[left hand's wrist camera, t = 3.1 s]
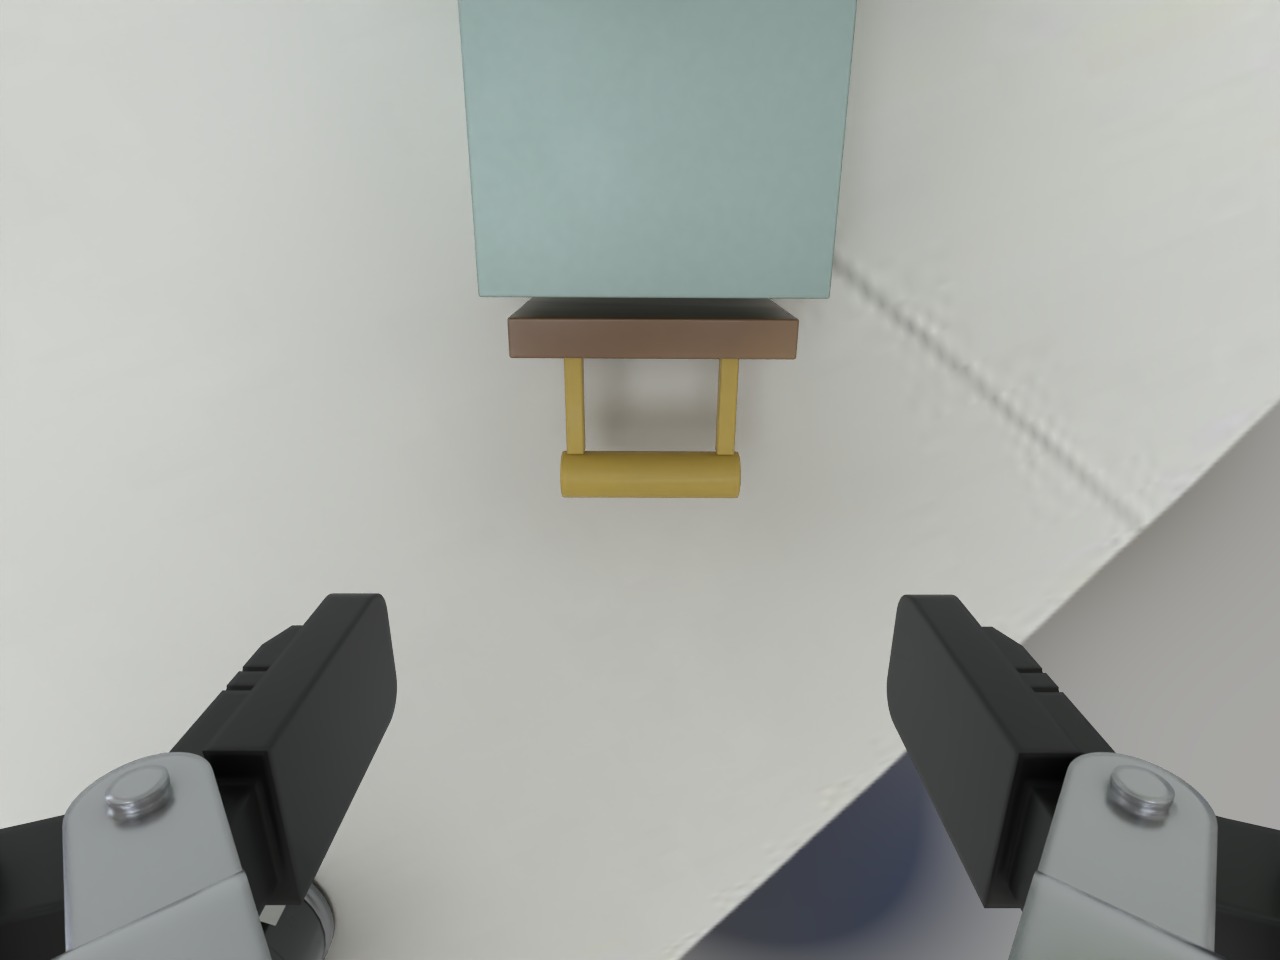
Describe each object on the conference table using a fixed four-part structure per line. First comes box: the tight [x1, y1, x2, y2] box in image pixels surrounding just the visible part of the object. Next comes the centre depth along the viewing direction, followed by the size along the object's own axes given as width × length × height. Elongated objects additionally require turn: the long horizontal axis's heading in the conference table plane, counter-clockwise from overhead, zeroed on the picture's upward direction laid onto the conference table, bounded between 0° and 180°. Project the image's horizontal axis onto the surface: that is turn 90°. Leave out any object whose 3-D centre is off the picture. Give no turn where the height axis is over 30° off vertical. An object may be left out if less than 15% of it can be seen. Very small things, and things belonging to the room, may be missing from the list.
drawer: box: [508, 297, 799, 498], centre depth 23 cm, size 21×9×6 cm, turn 0°
